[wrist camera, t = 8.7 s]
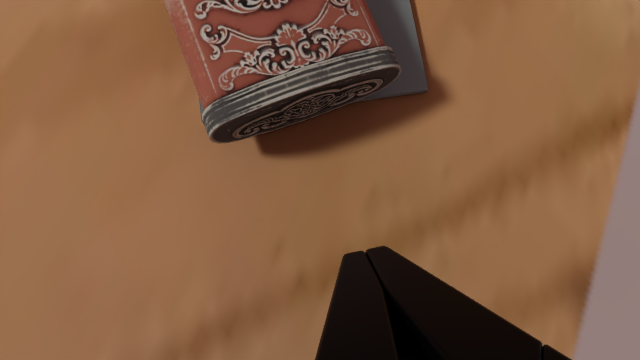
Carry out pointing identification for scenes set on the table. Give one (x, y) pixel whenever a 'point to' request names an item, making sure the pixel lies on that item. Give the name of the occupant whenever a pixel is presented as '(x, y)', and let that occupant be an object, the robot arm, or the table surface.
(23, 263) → the table surface
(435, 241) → the table surface
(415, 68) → the pad
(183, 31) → the lighter
